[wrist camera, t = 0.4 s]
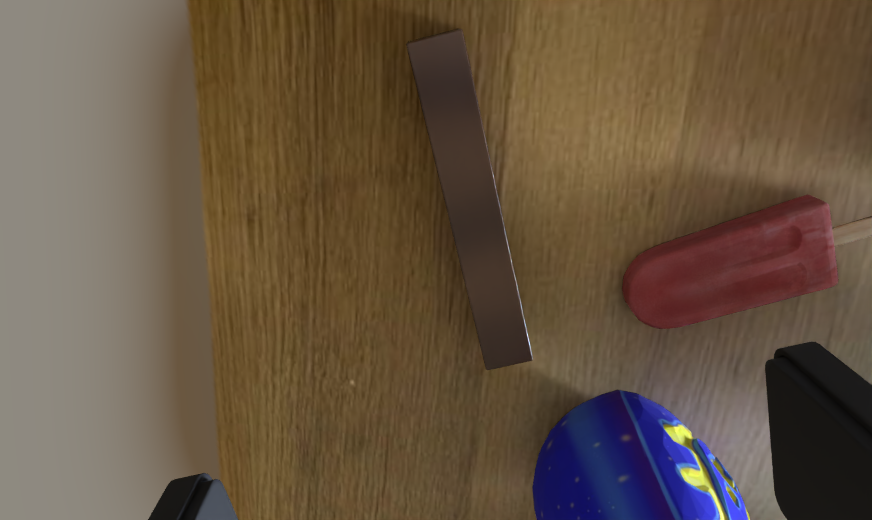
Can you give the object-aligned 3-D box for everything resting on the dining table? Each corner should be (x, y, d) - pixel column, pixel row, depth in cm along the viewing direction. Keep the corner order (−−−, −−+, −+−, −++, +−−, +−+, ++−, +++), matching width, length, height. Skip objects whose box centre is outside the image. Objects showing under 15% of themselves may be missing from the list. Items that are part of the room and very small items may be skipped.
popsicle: (946, 255, 31) (640, 344, 33) (920, 243, 32) (630, 329, 34) (940, 168, 29) (620, 266, 31) (914, 160, 31) (611, 254, 33)
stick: (407, 41, 29) (405, 43, 26) (459, 28, 29) (462, 28, 26) (482, 347, 34) (486, 371, 32) (526, 338, 34) (533, 360, 32)
